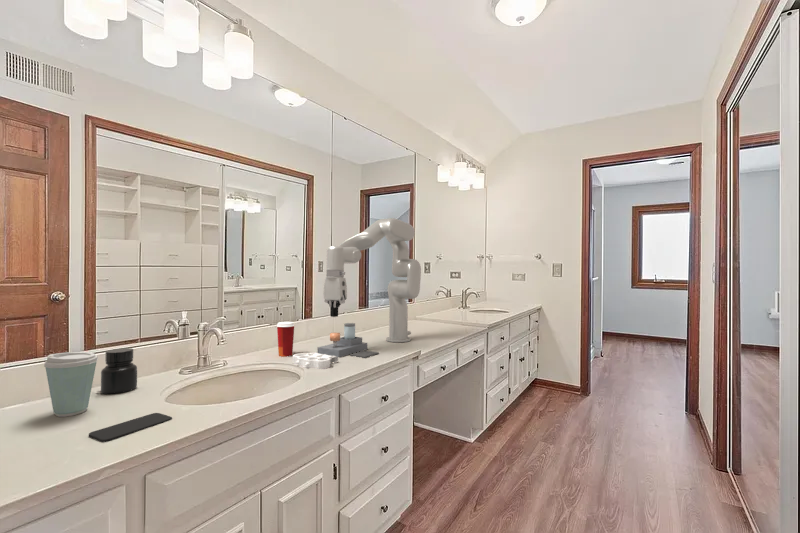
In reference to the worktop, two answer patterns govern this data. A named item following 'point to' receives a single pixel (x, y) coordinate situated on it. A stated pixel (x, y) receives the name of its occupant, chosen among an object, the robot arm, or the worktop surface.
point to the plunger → (335, 338)
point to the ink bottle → (119, 372)
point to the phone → (128, 427)
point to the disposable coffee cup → (70, 381)
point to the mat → (364, 354)
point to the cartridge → (349, 331)
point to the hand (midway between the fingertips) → (334, 316)
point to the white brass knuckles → (314, 360)
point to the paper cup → (285, 338)
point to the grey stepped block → (343, 347)
